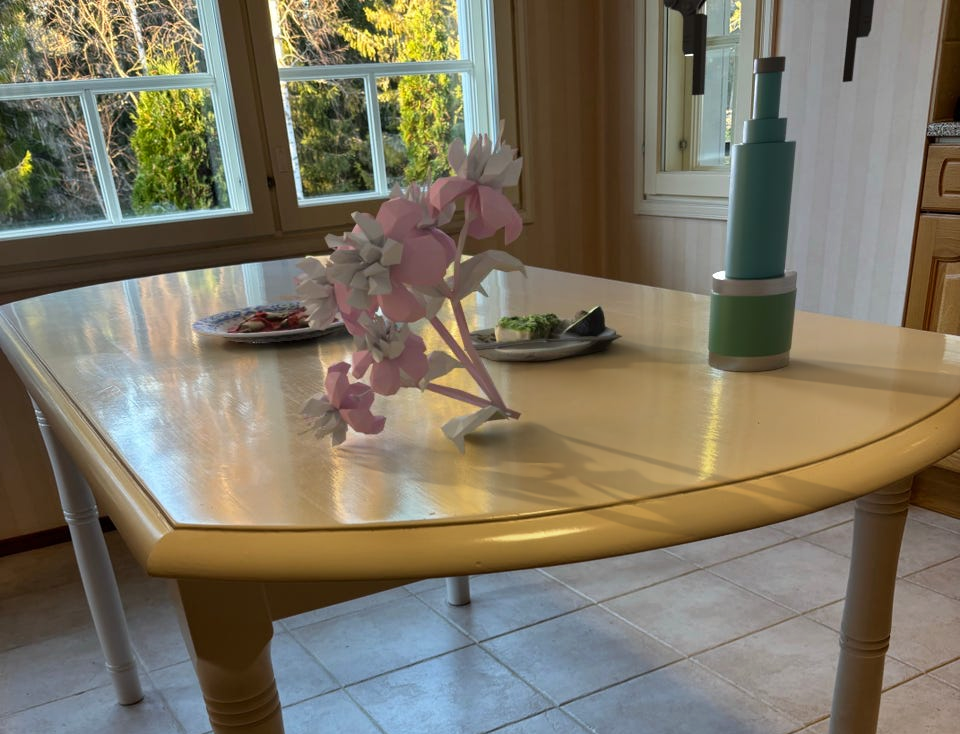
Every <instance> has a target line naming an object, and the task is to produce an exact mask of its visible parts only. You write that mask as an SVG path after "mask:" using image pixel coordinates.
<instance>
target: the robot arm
mask: <svg viewBox="0 0 960 734" xmlns="http://www.w3.org/2000/svg"><path fill="white" fill-rule="evenodd" d="M707 1H708V0H663V1H662V2H663V5H664V7H665V8H667V9H669V10H672V11H675V12H678V13H680V15H681V17H682V40H681V41H682V42H681V43H682V44H681V50H682V53H683V56H685V57H689V56H692V76H691V77H692V78H691V80H692V81H691V96H705V89H706V87H705V86H706V61H707V37H708V36H707V34H708V15H707V14H705V13H700V11H701V9H702V8H703V7H704V5H705V4H706V2H707ZM874 7H875V0H850V4H849V13H848V22H847V23H848V24H847V34H846V43H845V52H844V53H845V55H844V63H843V73H842V83H849V82H850V83H851V82H853V79H854V70H855V60H856V50H857V41H858V39H861V38H863V39H864V38H869V36H870V34H871V31H872V25H873V16H874Z"/></svg>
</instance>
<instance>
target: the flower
mask: <svg viewBox="0 0 960 734" xmlns="http://www.w3.org/2000/svg"><path fill="white" fill-rule="evenodd" d="M505 123H506V118H502V119H500V120H499V129H500V130H499V133H498V135H497V138H496V142H495V144H494V148H493V150H492V147H493V141H492V140H491V139H490V138H489V137H488V136H489V135H488V133H484V134H483V136H482V133H481V132H480V133H478V137H477V135H476V133H475V130H472V133H471V138H470V142H469V149H468V153H467V152H466V150H465V146H464V143H463V141H462V138H461V136H459V137H457V138H456V139H454V140H453V141H452V142H450V143H449V144H448V145H447V162H448V165H449V166H450V168H451V169H452V170H453V172H454V173H455V175H454V176H453V175H452V176H445V177H438V178H437V179H436V180H435V181H434V183H433V184H431V179H432V169H431V166H430V165H428V168H427V184H426V181H423V186H422V190H421V183H418V181H417V180H415V181H414V180H411V181H410V180H408V183H409V184H408V185H407V186H406V187H405V188H403V189H402V188H401V186H400V184H399V181H398V180H396V181H395V182H394V185H393V186H392V188H391V190H390V192H389V194H388V197H389V200H387V201H384V202H382V204H381V206H380V207H379V210H378V212H377V214H376V216H373V215H372V214H370V213H367V212H362V213H361V212H359V211H354V212H352V213H350V215H351V217H352V220H353V221H354V222H355V225H354V227H353V229H352V231H344V232H343V235H339V236H338V235H335V234H331V233H328V234H327V235H325V236H324V237H323V238H324V240H325V242H326V244H327V247H328V248H329V249H330V248H331V249H332V250H334V252H332V253H331V254H330V255H329V259H326V258H325V262H326V263H325V266H324V264H323V263H322V262H321V261H320V260H319V259H317V258H315V257H312V256H308V257H304V258H301V259H300V260H298V261H297V262H296V263H295V264H293V266H294V267H296V268H298V269H300V270H301V271H303V273H301V274H299V275H297V276H296V277H295V276H293V280H294V281H293V284H294V287H296V288H295V290H294V291H295V293H296V294H297V295H281V296H277V299H280V300H282V301H302V302H300V305H299V308H301V307H303V306H304V307H306V308H307V310H306V311H305V312H300V313H299V317H298V318H300V317H301V316H302V315H303V314H308V315H310V316H309V317H308V318H307V319H306V320H305V321H310V323H309V326H310V328H313V329H319V330H324V329H326V328H327V327H328V326H329V325H330V324H331V323H333V320H334V318H335V315H336V313H337V310H338V309H339V312H340V315H341V318H342V320H343V322H344V324H345V327H346V329H347V331H348V333H349V335H352V336H353V344H354V351H355V352H353V353H352V359H351V364H350V363H348V362H346V361H337V362H333V363H332V364H331V365H330V366H329V367H327V372H326V376H325V380H324V387H325V390H326V393H324V392H323V391H318V392H317V393H315V394H314V395H312V396H311V397H309V398H308V399H306V400H304V401H302V402H301V403H300V409H299V415H303V418H302V419H301V420H302V421H306V420H309V419H312V420H313V421H310V422H309V423H307V424H306V425H305V427H308V426H311V425H312V424H314V425H313V426H312V427H310V428H309V429H307V430H305V431H302V432H298V433H297V436H298V437H301V436H302V435H305V434H306V433H309V432H310V431H312V432H314V431H316V433H314V437H315V438H316V442H318V441H319V440H320V439H323V438H324V437H327V436H329V438H331V439H330V447H337V446H341V445H342V444H343V443H344V442H346V441H347V433H348V431H349V427H350V428H351V429H352V430H353V431H354V432H355V433H361V434H364V435H370V436H371V435H373V436H374V435H375V436H376V435H378V434H380V433H382V432H383V431H384V428H385V424H386V421H387V417H386V416H385V415H383V414H382V415H381V414H380V415H373V413H372V411H371V408H372V405H373V404H374V401H375V397H376V396H375V394H378V395H380V396H384V397H389V396H396V394H397V393H398V392H399V391H400V389H401V388H403V389H409V388H411V389H412V388H413V389H417V390H420V391H421V393H422V394H423V393H424V392H425V390H427V391H430V392H433V393H436V394H439V395H441V396H445V397H447V398H450V399H454V400H457V401H460V402H462V403H466V404H469V405H473V406H474V407H478V408H480V410H478V411H475V412H473V413H468V414H463V415H460V416H456V417H452V418H450V419H449V420H447V421H446V422H445V423H444V424H442V425H441V426H440V430H441V431H442V433H443V435H444V437H445V438H446V440H451V441H452V442H453V444H454V445H455V447H456V448H457V450H458V451H459V453H460V454H461V455H463V454H465V453H466V445H465V444H466V443H465V437H466V436H467V435H468V434H470V433H472V432H473V431H474V430H476V429H478V428H479V427H481V426H482V425H483V424H485V423H487V422H493V421H501V420H508V421H510V419H509V418H511V419H513V420H516V421H518V420H519V419H520V417H521V415H522V413H521V412H518V411H516V410H513V409H511V408H508V407H507V405H506V404H505V402H504V400H503V398H502V395H501V394H500V393H499V391H498V389H497V387H496V385H495V383H494V381H493V379H492V378H491V375H490V373H489V372H488V370H487V368H486V366H485V364H484V362H483V361H482V359H481V356H479V355H478V353H477V351H476V349H475V347H474V345H473V343H472V339H471V336H470V330H469V326H468V323H467V319H466V316H465V312H464V309H463V306H462V302H461V301H462V300H464V299H465V298H467V297H468V296H469V295H471V294H473V293H476V292H477V293H479V294H480V295H482V296H483V297H485V298H489V295H488V293H487V291H486V290H485V289H484V286H483V285H482V283H483V281H484V280H485V279H486V278H487V277H488V276H489V275H490V274H491V272H492V271H494V270H496V271H500V272H504V273H512V272H518V271H519V272H520V273H521V274H522V275H523V277H524V278H525V279H526V280H528V274H527V271H526V268H525V265H524V264H523V262H522V261H521V260H520V259H518V258H517V257H515V256H513V255H511V254H509V253H508V252H507V251H503V250H497V249H488V250H486V251H483V252H480V253H477V254H475V255H473V256H472V257H470V258H468V259H466V260H464V261H462V262H461V259H462V255H463V251H464V247H465V243H466V239H467V236H470V237H472V238H474V239H476V240H478V241H479V240H483V239H486V238H490V237H493V236H494V235H495V234H496V232H497V230H500V229H502V228H504V246H505V247H506V246H507V245H509V244H511V243H513V242H514V241H516V240H517V238H518V237H519V236H520V235H521V232H522V231H523V219H522V217H521V216H520V214H519V213H518V211H517V209H516V208H515V207H514V205H513V204H512V203H511V202H510V201H509V199H508V197H507V196H506V195H504V194H503V193H502V190H503V188H508V187H515V186H518V184H519V181H520V176H521V172H522V168H523V159H524V156H521V157H518V158H517V159H515V160H513V158H514V155H515V154H516V152H517V151H518V150H519V148H511V147H512V146H511V144H507V141H506V139H504V140H503V142H502V143H501V147H500V150H498V149H499V146H500V142H501V139H502V137H503V133H504V130H505ZM483 138H484V139H483ZM483 140H484V141H483ZM483 142H484V145H483ZM426 186H427V187H426ZM403 190H404V192H403ZM425 190H426V192H425ZM464 197H466V199H465V201H464V205H463V206H464V221H465V223H464V225H463V227H462V229H461V231H460V233H459V238H458V243H457V245H456V242H455V240H454V239H453V238H452V237H450V236H449V235H448V234H446V233H445V232H444V231H443V230H442V229H439V227H442V226H444V225H446V224H449V223H450V222H451V221H452V218H453V216H454V213H455V211H456V208H457V206H456V201H458V200H460V199H462V198H464ZM336 247H337V248H336ZM332 262H333V263H332ZM452 264H453V275H450V276H447V269H449V268H450V266H451V265H452ZM446 276H447V277H446ZM445 277H446V278H445ZM446 299H448V300H449V302H450V305H451V308H452V312H453V315H454V319H455V322H456V325H457V328H458V331H459V334H460V338H461V342H462V341H463V342H462V345H463V348H462V347H461V346H460V345H459V343H458V342H457V340H456V339H455V338H454V337H453V335H452V334H451V333H450V331H449V330H448V328H447V327H446V326H445V324H443V322H442V321H441V320H440V318H438V316H437V314H438V313H439V312H440V310H441V309H442V307H443V305H444V302H445V300H446ZM379 309H380V311H381V313H382V315H378V314H377V313H378V312H379ZM384 317H385V318H387V322H386V321H385V319H384ZM424 318H425V319H426V320H427V321H428V323H430V325H431V326H432V327H433V329H434V330H435V331H436V332H437V333H438V335H439V337H440V338H441V339H442V340H443V342H444V343H445V344H446V345H447V347H448V348H449V349H450V351H451V352H452V353H453V354H454V356H455V357H456V358H457V359H456V358H454V357H453V356H452V355H450V354H448V353H447V352H446V351H443V350H433V351H431V352H430V353H428V354H426V353H425V352H426V351H427V350H428V349H427V346H426V343H425V340H424V338H423V337H422V336H421V335H418V334H416V333H414V332H413V331H411V330H410V327H409V323H411V324H413V323H416V322H417V321H420V320H422V319H424ZM396 323H400V324H401V323H402V325H401V326H400V329H398V325H397V324H396ZM464 348H465V349H466V351H464ZM371 365H372V366H371ZM370 366H371V369H370V374H369V378H368V379H369V383H370V385H368V384H365V383H363V382H360V381H359V380H361V379H363V378H364V376H365V374H366V373H367V371H368V369H369V367H370ZM350 369H351V376H352V377H353V378H354V379H356V380H357V381H356V382H353V383H350V380H349V377H348V373H349V371H350ZM454 369H465V370H466V372H467V373H468V374H469V375H470V376H471V378H472V379H473V381H475V383H476V384H477V385H478V386H479V388H480V389H481V391H482V392H483V393H484V394H485V395H486V397H487V398H488V399H489V400H487V399H486V398H483V397H480V396H478V395H475V394H473V393H470V392H468V391H465V390H463V389H458V388H454V387H450V386H446V385H442V384H437V383H433V382H431V381H433V380H436V379H439V378H442V377H444V376H446V375H447V374H449V373H450V372H452V371H453V370H454Z"/></svg>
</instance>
